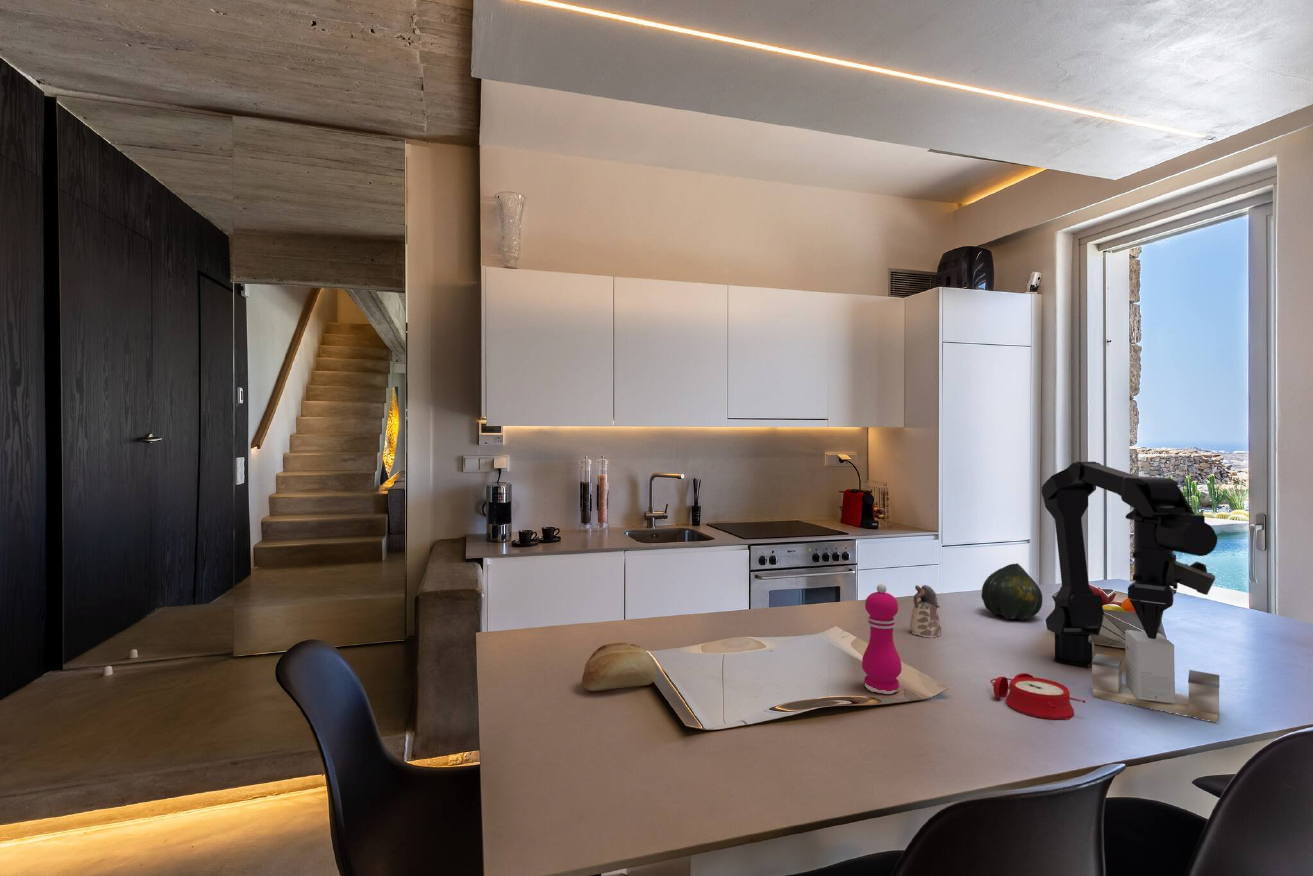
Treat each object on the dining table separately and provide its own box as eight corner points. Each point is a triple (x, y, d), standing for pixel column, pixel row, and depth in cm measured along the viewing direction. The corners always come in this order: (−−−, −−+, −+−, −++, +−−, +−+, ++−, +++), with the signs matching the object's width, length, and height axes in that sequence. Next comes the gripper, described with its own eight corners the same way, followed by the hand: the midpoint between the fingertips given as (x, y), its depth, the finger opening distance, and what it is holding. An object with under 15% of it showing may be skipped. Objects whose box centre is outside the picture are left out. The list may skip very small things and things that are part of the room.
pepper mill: (907, 688, 125) (907, 584, 125) (892, 699, 120) (892, 590, 120) (871, 679, 130) (871, 578, 130) (855, 689, 125) (855, 584, 125)
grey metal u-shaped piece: (1091, 696, 121) (1091, 662, 121) (1097, 684, 127) (1097, 652, 127) (1219, 724, 110) (1219, 686, 110) (1219, 709, 116) (1219, 673, 116)
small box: (1175, 705, 114) (1175, 644, 114) (1136, 699, 116) (1136, 640, 116) (1161, 689, 121) (1161, 632, 122) (1125, 684, 124) (1124, 629, 124)
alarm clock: (1049, 705, 108) (979, 658, 122) (1042, 738, 110) (973, 688, 124) (1094, 697, 112) (1021, 652, 126) (1086, 729, 113) (1015, 681, 127)
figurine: (946, 638, 158) (946, 588, 158) (916, 637, 158) (916, 588, 158) (934, 629, 165) (934, 582, 165) (905, 629, 165) (905, 582, 165)
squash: (980, 601, 172) (1020, 559, 171) (963, 591, 187) (1000, 552, 186) (1024, 639, 170) (1065, 597, 169) (1004, 626, 185) (1041, 587, 183)
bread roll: (573, 684, 127) (573, 643, 127) (643, 672, 134) (643, 633, 134) (591, 702, 118) (591, 658, 118) (664, 688, 125) (664, 646, 125)
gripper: (1211, 558, 106) (1211, 654, 106) (1211, 545, 120) (1212, 630, 120) (1127, 551, 114) (1127, 641, 113) (1137, 539, 128) (1137, 619, 128)
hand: (1154, 632), depth 118 cm, fingers open, 9 cm apart
